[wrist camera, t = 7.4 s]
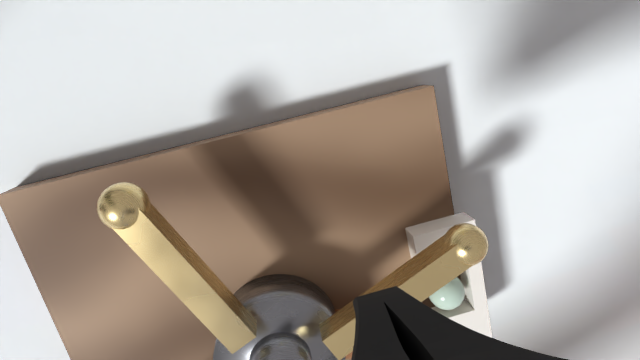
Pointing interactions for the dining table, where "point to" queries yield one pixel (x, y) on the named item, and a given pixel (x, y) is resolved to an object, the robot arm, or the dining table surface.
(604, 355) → the dining table surface
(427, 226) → the frame
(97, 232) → the stand board
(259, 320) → the capstan
